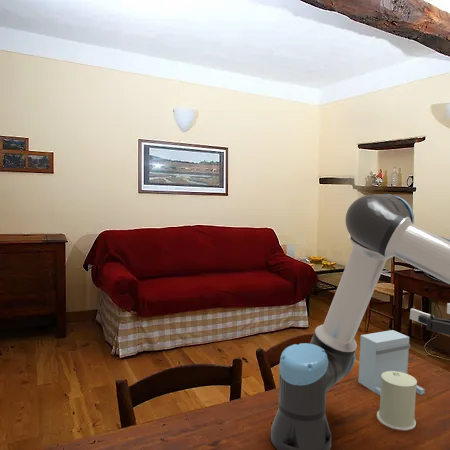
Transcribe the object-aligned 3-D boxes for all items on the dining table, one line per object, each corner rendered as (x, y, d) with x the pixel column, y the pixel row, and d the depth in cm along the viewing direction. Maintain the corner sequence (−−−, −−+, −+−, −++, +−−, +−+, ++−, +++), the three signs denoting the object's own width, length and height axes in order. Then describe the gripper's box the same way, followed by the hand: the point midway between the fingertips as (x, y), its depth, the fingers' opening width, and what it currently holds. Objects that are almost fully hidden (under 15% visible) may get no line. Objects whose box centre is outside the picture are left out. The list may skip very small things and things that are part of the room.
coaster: (391, 432, 108) (391, 430, 108) (369, 412, 118) (369, 410, 118) (424, 428, 111) (424, 425, 111) (400, 408, 120) (400, 406, 120)
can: (408, 410, 118) (410, 370, 117) (419, 428, 109) (422, 385, 108) (375, 407, 119) (377, 368, 118) (384, 426, 110) (386, 383, 109)
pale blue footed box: (424, 393, 129) (427, 344, 127) (390, 402, 123) (393, 351, 122) (390, 374, 142) (392, 329, 140) (358, 382, 136) (360, 335, 134)
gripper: (473, 364, 85) (393, 330, 104) (546, 347, 95) (461, 319, 114) (476, 329, 84) (395, 301, 103) (549, 315, 94) (463, 292, 113)
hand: (429, 310), depth 109 cm, fingers open, 13 cm apart
